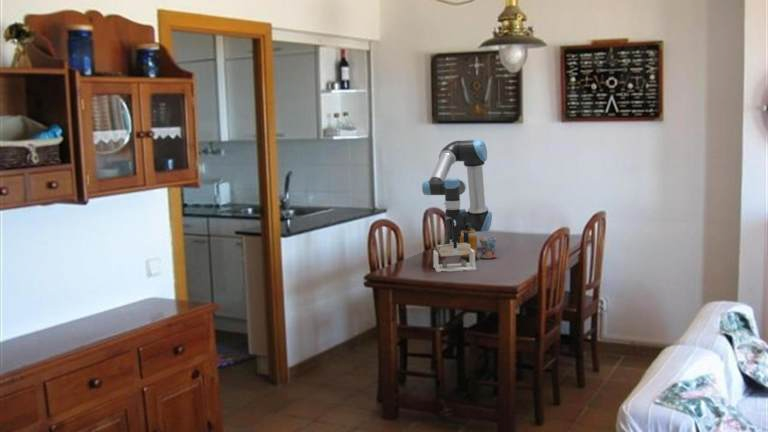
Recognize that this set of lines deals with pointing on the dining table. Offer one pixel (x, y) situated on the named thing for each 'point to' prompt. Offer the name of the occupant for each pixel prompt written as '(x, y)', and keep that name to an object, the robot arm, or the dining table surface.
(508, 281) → the dining table surface
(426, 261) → the dining table surface
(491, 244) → the mug
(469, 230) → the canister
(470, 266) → the cradle
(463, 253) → the cream long box
